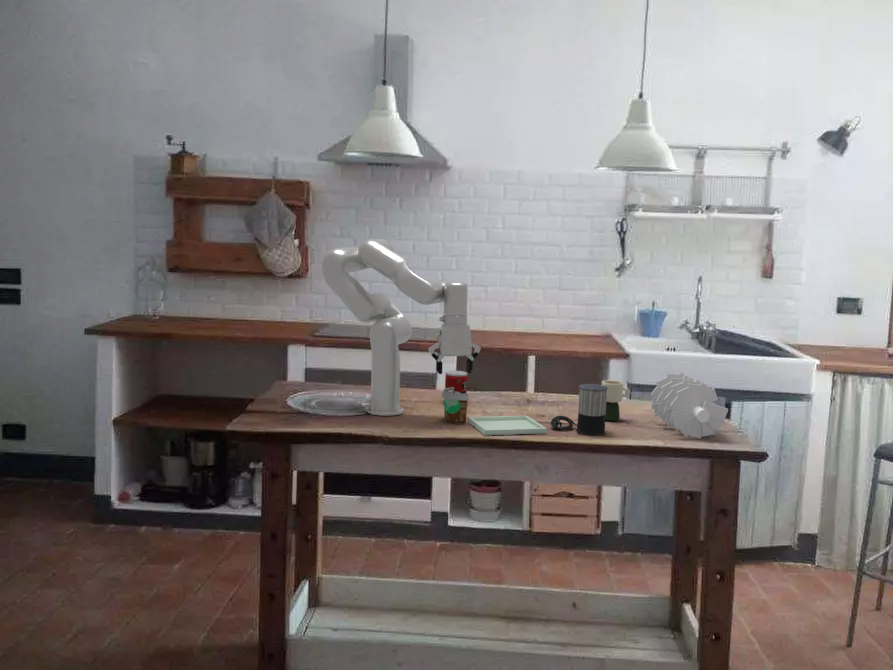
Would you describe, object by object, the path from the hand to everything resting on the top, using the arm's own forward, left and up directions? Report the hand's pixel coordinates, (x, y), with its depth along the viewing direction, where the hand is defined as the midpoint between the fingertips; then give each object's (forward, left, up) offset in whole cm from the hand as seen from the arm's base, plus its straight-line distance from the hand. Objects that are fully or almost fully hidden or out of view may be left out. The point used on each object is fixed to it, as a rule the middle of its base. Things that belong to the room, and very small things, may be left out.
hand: (454, 373), depth 304 cm
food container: (0, 0, -16) cm, 16 cm away
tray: (+15, -12, -16) cm, 25 cm away
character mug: (+54, -5, -16) cm, 56 cm away
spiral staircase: (+72, -23, -16) cm, 77 cm away
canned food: (+9, +27, -16) cm, 33 cm away
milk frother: (+36, -18, -16) cm, 44 cm away
